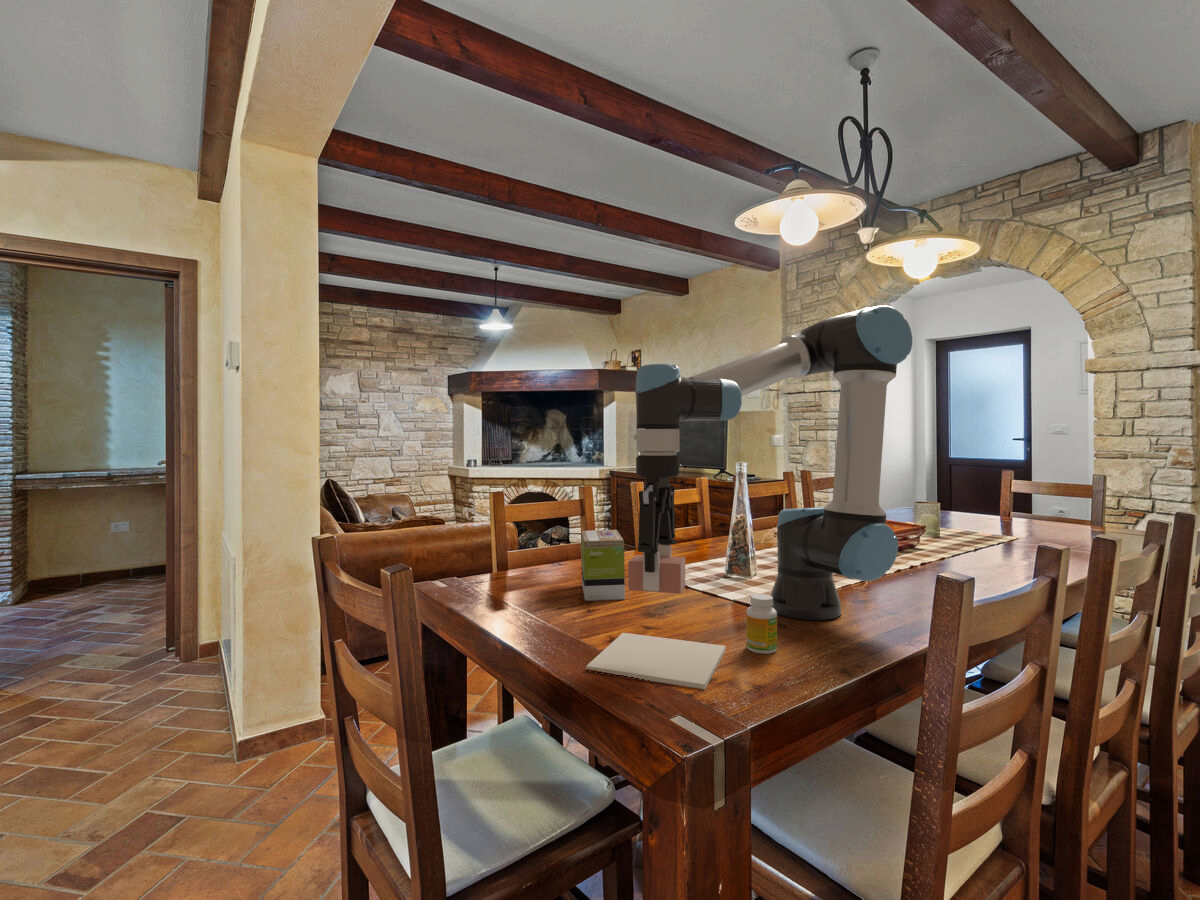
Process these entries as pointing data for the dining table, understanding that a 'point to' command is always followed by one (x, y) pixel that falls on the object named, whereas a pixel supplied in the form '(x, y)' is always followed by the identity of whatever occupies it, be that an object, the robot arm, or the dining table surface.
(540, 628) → the dining table surface
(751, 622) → the supplement bottle
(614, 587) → the tea box
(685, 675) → the mat
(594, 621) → the dining table surface
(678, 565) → the reddish brown rectangular block
